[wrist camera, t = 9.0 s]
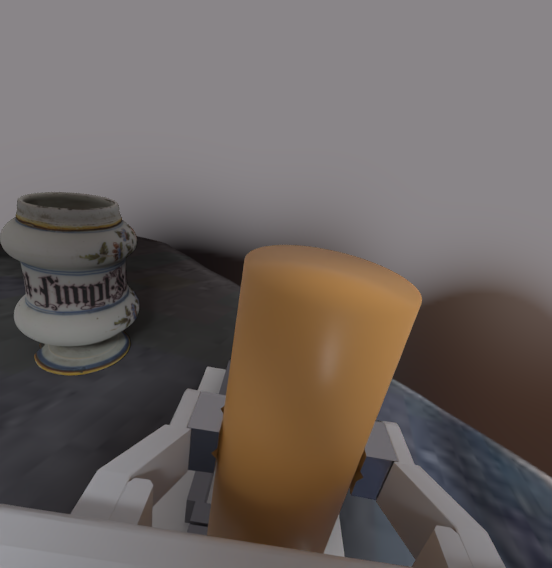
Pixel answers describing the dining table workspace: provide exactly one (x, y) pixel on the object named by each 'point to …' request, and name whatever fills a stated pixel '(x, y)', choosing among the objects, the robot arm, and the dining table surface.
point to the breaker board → (207, 487)
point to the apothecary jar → (73, 279)
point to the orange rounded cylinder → (304, 390)
